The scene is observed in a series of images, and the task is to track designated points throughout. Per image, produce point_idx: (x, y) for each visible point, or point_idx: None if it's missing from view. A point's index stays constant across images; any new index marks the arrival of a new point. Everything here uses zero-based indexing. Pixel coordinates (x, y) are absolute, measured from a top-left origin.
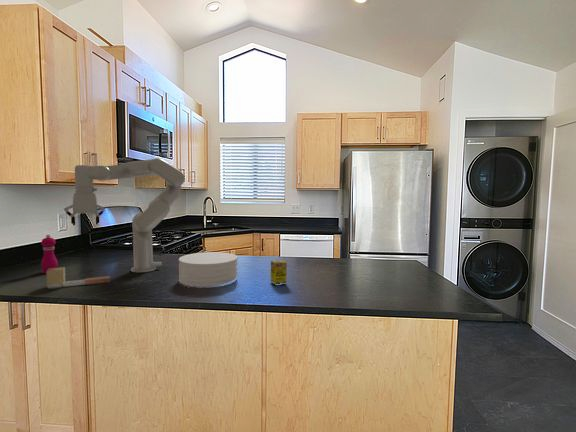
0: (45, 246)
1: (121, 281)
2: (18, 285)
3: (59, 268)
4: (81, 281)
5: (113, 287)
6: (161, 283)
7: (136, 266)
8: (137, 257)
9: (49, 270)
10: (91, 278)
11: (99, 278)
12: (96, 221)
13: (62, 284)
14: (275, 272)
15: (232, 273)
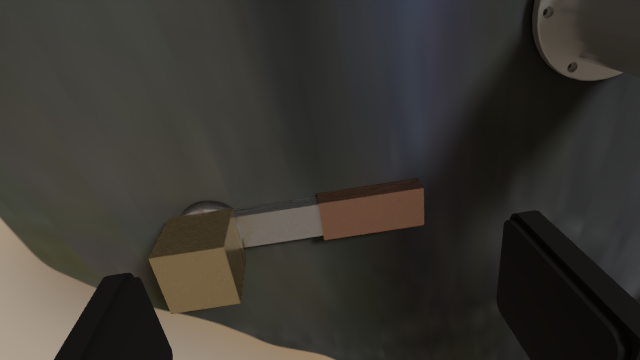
0: None
1: (464, 215)
2: (12, 163)
3: (207, 270)
4: (309, 235)
5: (432, 284)
6: None
7: (580, 51)
8: (633, 70)
9: (175, 298)
10: (346, 213)
11: (381, 221)
12: (535, 355)
13: None
14: None
15: None
